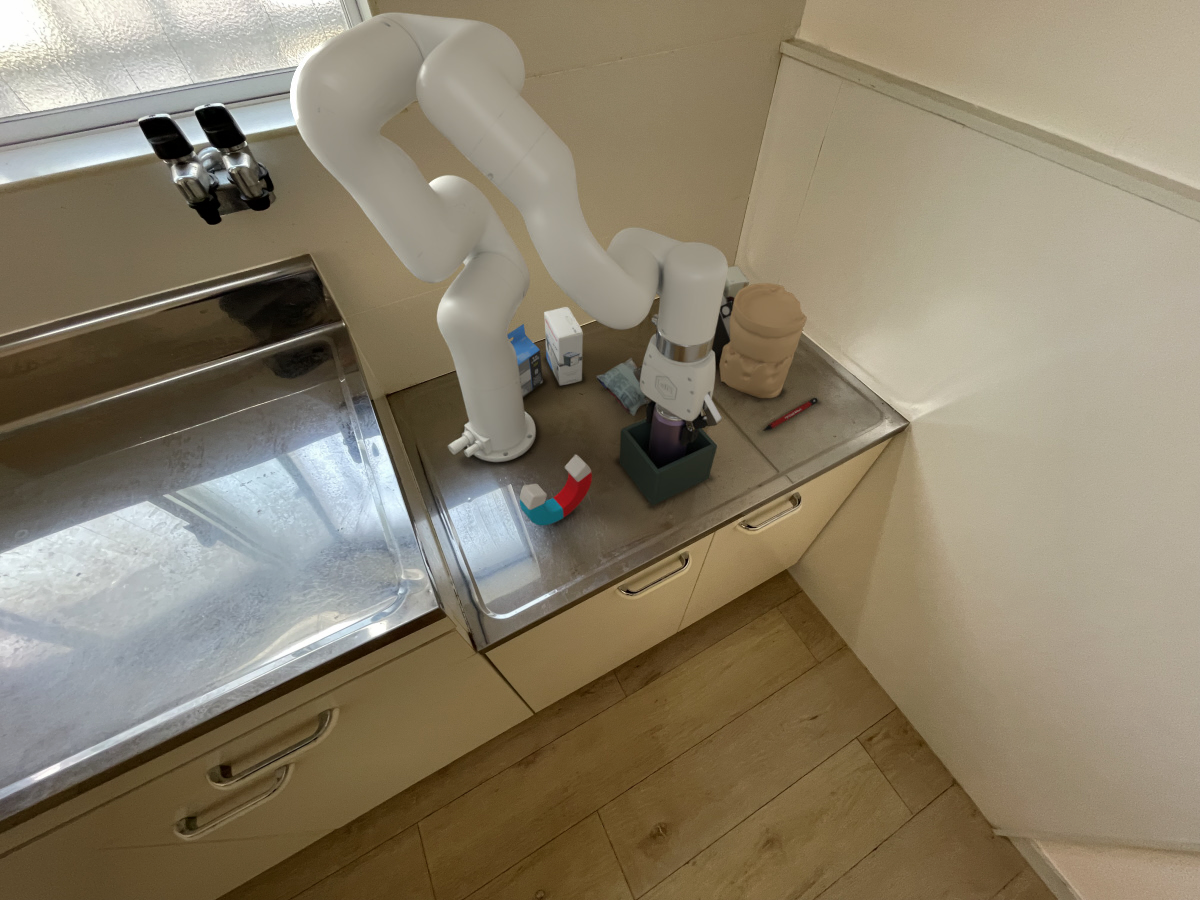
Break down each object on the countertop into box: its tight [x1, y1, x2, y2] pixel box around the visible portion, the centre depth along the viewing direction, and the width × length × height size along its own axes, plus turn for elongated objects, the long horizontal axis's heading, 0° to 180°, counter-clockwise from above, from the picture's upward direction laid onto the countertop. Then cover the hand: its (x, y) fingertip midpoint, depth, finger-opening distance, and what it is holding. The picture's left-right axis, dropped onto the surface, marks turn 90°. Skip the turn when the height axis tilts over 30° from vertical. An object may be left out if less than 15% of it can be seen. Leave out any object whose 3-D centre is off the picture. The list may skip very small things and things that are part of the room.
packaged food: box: [595, 357, 647, 417], centre depth 106 cm, size 9×12×5 cm
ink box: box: [543, 306, 584, 386], centre depth 108 cm, size 9×5×12 cm, turn 22°
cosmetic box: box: [723, 265, 750, 303], centre depth 117 cm, size 6×4×12 cm
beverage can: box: [648, 403, 687, 469], centre depth 90 cm, size 6×6×15 cm
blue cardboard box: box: [508, 323, 544, 398], centre depth 103 cm, size 9×4×12 cm, turn 140°
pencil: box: [762, 397, 819, 432], centre depth 104 cm, size 1×14×1 cm, turn 124°
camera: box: [712, 295, 733, 363], centre depth 114 cm, size 15×11×10 cm
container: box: [718, 282, 808, 399], centre depth 103 cm, size 13×13×18 cm
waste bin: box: [618, 418, 718, 507], centre depth 93 cm, size 11×10×9 cm
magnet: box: [519, 454, 593, 527], centre depth 87 cm, size 12×3×10 cm, turn 129°
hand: (670, 428), depth 88 cm, fingers closed on beverage can, 6 cm apart
